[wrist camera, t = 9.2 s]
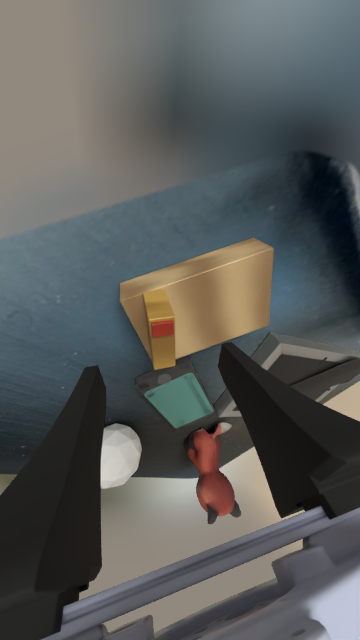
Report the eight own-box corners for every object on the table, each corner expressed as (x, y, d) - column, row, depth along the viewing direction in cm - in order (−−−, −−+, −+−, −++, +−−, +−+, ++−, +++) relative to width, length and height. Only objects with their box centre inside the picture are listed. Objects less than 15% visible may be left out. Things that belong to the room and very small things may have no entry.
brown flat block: (150, 346, 22) (154, 367, 19) (119, 283, 16) (119, 301, 14) (253, 309, 22) (269, 325, 20) (252, 237, 17) (274, 247, 15)
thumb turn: (166, 335, 17) (176, 369, 14) (148, 338, 17) (154, 373, 14) (164, 288, 14) (176, 318, 11) (142, 291, 14) (148, 322, 11)
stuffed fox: (238, 415, 37) (277, 496, 28) (206, 445, 42) (231, 522, 33) (207, 413, 34) (240, 505, 25) (176, 446, 39) (194, 533, 29)
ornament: (105, 446, 32) (66, 498, 24) (108, 406, 30) (68, 448, 22) (146, 460, 30) (119, 520, 23) (151, 419, 29) (125, 469, 21)
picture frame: (357, 349, 34) (270, 331, 25) (374, 362, 31) (284, 347, 23) (296, 404, 41) (213, 405, 33) (306, 417, 39) (220, 421, 30)
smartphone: (189, 362, 23) (217, 415, 32) (186, 354, 24) (214, 407, 33) (131, 387, 23) (176, 432, 32) (131, 379, 24) (174, 425, 33)
